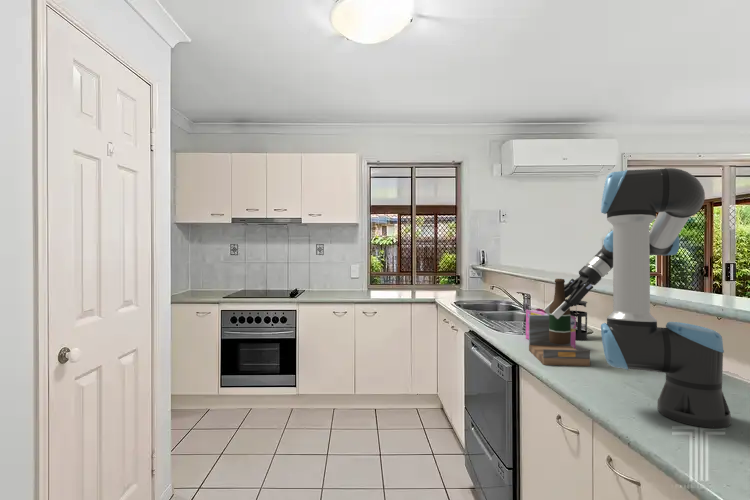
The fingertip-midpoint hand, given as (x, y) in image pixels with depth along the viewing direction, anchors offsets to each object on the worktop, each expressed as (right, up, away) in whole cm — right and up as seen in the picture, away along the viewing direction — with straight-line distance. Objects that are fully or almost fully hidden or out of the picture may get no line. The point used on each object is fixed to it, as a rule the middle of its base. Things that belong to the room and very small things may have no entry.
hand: (550, 314), depth 161 cm
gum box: (+9, -17, +24) cm, 30 cm away
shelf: (+4, -17, +2) cm, 17 cm away
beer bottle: (+4, -11, 0) cm, 11 cm away
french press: (+26, -16, +34) cm, 46 cm away
